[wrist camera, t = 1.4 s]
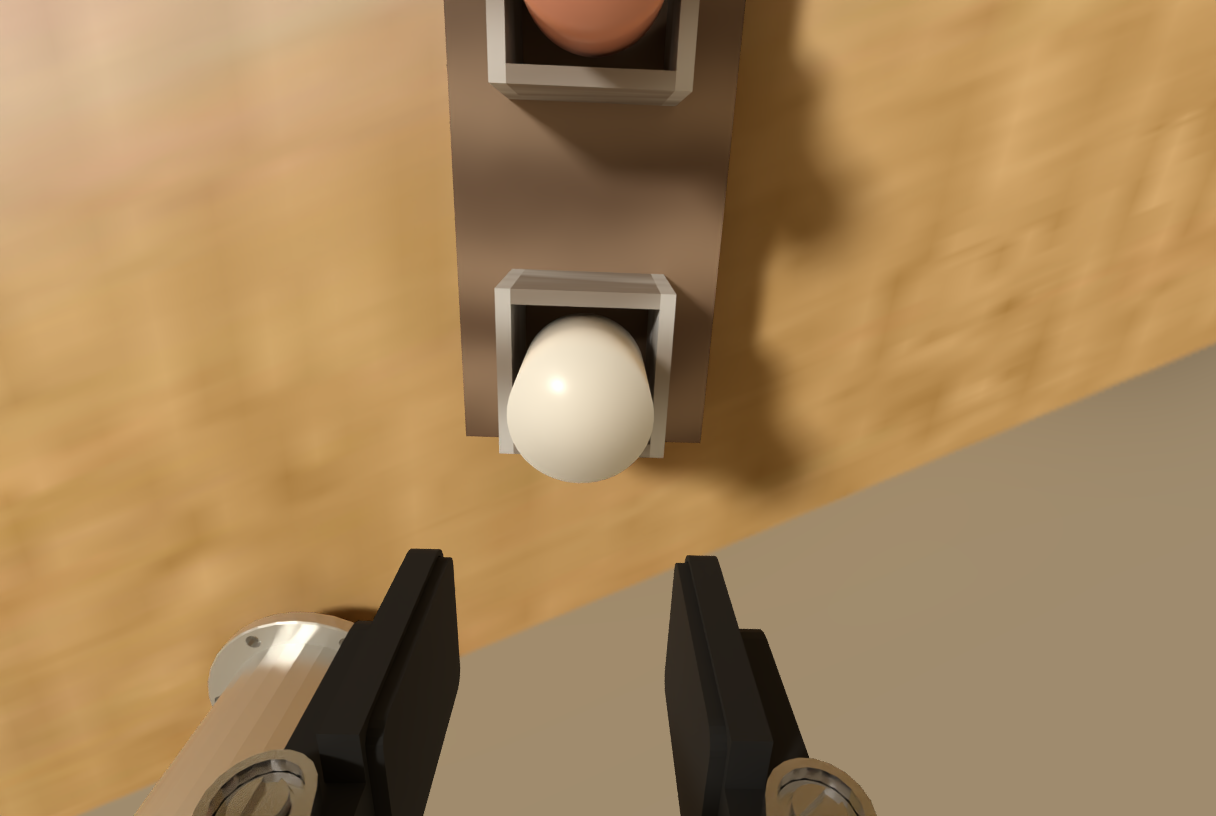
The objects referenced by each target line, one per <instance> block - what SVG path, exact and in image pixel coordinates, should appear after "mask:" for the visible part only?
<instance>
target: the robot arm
mask: <svg viewBox="0 0 1216 816" xmlns="http://www.w3.org/2000/svg"><path fill="white" fill-rule="evenodd" d="M459 679H460V660H459V645H458V629H457V614H456V599H455V584H454V568H453V560H452V558H451V557H443V553H442V550H440V549H410V550H409V551H408V553H407V554H406V556H405V558H404V560H403V562H402V564H401V566H400V568H399V570H398V572H397V574H396V576H395V578H394V580H393V582H392V584H391V586H390V588H389V590H388V592H387V594H386V596H385V598H384V600H383V602H382V604H381V606H380V608H379V610H378V612H377V614H376V616H375V618H374V620H373V621H357V622H355V623H353V622H351V621H348V620H344V619H341V618H338V617H335V616H331V615H325V614H319V613H313V612H289V613H282V614H275V615H271V616H268V617H265V618H262V619H258V620H256V621H254V622H252V623H250V624H248V625H247V626H245V627H243V628H241V629H240V630H239V631H238V632H237V633H236V634H234V635H233V636H232V637H231V638H230V639H229V640H228V642H227V643H226V644H225V645H224V647H223V648H222V649H221V650H220V652H219V653H218V654H217V656H216V658H215V660H214V662H213V664H212V666H211V668H210V673H209V678H208V691H209V698H210V701H211V704H212V708H211V709H210V711H209V712H208V714H207V715H206V716H205V718H204V719H203V721H202V722H201V723H200V725H199V726H198V727H197V729H196V730H195V732H194V733H193V734H192V736H191V737H190V738H189V740H188V741H187V743H186V744H185V745H184V747H183V748H182V749H181V751H180V752H179V754H178V755H177V756H176V758H175V759H174V761H173V762H172V763H171V765H170V766H169V767H168V769H167V770H166V772H165V773H164V774H163V776H162V777H161V778H160V780H159V781H158V783H157V784H156V785H155V787H154V788H153V789H152V791H151V792H150V794H149V795H148V796H147V798H146V799H145V800H144V802H143V803H142V805H141V806H140V807H139V809H138V810H137V812H136V813H135V814H134V816H423V814H424V811H425V807H426V803H427V800H428V796H429V792H430V789H431V785H432V781H433V778H434V774H435V771H436V767H437V763H438V760H439V756H440V752H441V749H442V745H443V741H444V738H445V734H446V731H447V727H448V723H449V720H450V716H451V712H452V709H453V705H454V701H455V698H456V694H457V690H458V686H459ZM665 695H666V703H667V711H668V719H669V727H670V735H671V742H672V750H673V758H674V767H675V775H676V783H677V791H678V798H679V806H680V814H681V816H877V815H876V812H875V810H874V807H873V805H872V802H871V800H870V799H869V797H868V796H867V794H866V793H865V792H864V790H863V789H862V788H861V786H860V785H859V784H858V783H857V782H856V781H855V780H853V779H852V778H851V777H850V776H849V775H848V774H847V773H845V772H844V771H842V770H840V769H839V768H837V767H835V766H833V765H832V764H829V763H826V762H823V761H820V760H817V759H814V758H809V756H808V753H807V750H806V748H805V744H804V742H803V739H802V736H801V734H800V731H799V728H798V725H797V722H796V720H795V717H794V714H793V711H792V708H791V705H790V703H789V700H788V697H787V694H786V692H785V689H784V686H783V683H782V680H781V677H780V675H779V672H778V669H777V666H776V664H775V661H774V658H773V655H772V652H771V650H770V647H769V644H768V641H767V639H766V636H765V634H764V632H763V631H762V630H761V629H739V627H738V624H737V621H736V617H735V614H734V611H733V608H732V604H731V601H730V598H729V595H728V591H727V588H726V585H725V581H724V578H723V575H722V571H721V568H720V565H719V562H718V559H717V557H716V556H692V555H687V556H686V559H685V563H676V564H675V569H674V580H673V591H672V601H671V613H670V623H669V633H668V644H667V656H666V666H665Z"/></svg>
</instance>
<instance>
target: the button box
mask: <svg viewBox="0 0 1216 816" xmlns="http://www.w3.org/2000/svg"><path fill="white" fill-rule="evenodd" d="M745 1H746V0H664V2H663V5H662V8H661V10H660V12H659V14H658V16H657V18H656V20H655V21H654V23H653V24H652V26H651V27H650V29H649V30H648V31H647V32H646V33H645V35H644V36H643V37H642V38H640V39H639V40H638V41H637V42H636V43H635V44H633V45H632V46H630V47H629V48H627V49H625V50H623V51H621V52H619V53H616V54H613V55H610V56H605V57H584V56H580V55H576V54H573V53H570V52H568V51H566V50H564V49H562V48H560V47H559V46H557V45H556V44H554V43H553V42H552V41H551V40H550V39H548V38H547V37H546V36H545V35H544V33H543V32H542V31H541V30H540V29H539V28H538V26H537V25H536V23H535V22H534V20H533V19H532V17H531V15H530V13H529V11H528V9H527V7H526V4H525V2H524V0H444V14H445V34H446V53H447V73H448V92H449V111H450V131H451V150H452V169H453V189H454V208H455V228H456V247H457V266H458V286H459V305H460V324H461V344H462V363H463V383H464V402H465V421H466V436H482V437H499V453H508V454H520V452H519V451H518V450H517V448H516V446H515V444H514V443H513V441H512V438H511V436H510V433H509V429H508V424H507V404H508V399H509V396H510V393H511V390H512V387H513V385H514V382H515V380H516V377H517V375H518V372H519V370H520V368H521V365H522V363H523V360H524V358H525V355H526V353H527V350H528V348H529V346H530V344H531V342H532V341H533V339H534V338H535V336H536V335H537V334H538V333H539V332H540V331H541V329H543V328H544V327H545V326H546V325H548V324H549V323H551V322H552V321H554V320H556V319H558V318H560V317H563V316H567V315H570V314H577V313H590V314H596V315H601V316H604V317H606V318H609V319H611V320H613V321H615V322H616V323H618V324H619V325H621V326H622V327H623V328H624V329H625V330H627V331H628V332H629V333H630V335H631V336H632V337H633V338H634V340H635V342H636V343H637V345H638V347H639V349H640V351H641V355H642V358H643V362H644V366H645V371H646V375H647V380H648V384H649V388H650V393H651V397H652V401H653V408H654V423H653V430H652V433H651V437H650V439H649V441H648V444H647V446H646V447H645V449H644V451H643V452H642V454H641V455H640V456H639V457H647V458H664V446H665V442H687V443H700V441H701V431H702V421H703V412H704V402H705V392H706V382H707V372H708V363H709V353H710V343H711V333H712V324H713V314H714V304H715V294H716V285H717V275H718V265H719V255H720V245H721V236H722V226H723V216H724V206H725V197H726V187H727V177H728V167H729V157H730V148H731V138H732V128H733V118H734V109H735V99H736V89H737V79H738V69H739V60H740V50H741V40H742V30H743V21H744V11H745Z"/></svg>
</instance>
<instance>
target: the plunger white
mask: <svg viewBox="0 0 1216 816" xmlns="http://www.w3.org/2000/svg"><path fill="white" fill-rule="evenodd" d="M653 423H654V408H653V401H652V397H651V393H650V388H649V384H648V380H647V375H646V371H645V366H644V362H643V358H642V355H641V351H640V349H639V347H638V345H637V343H636V342H635V340H634V338H633V337H632V336H631V335H630V333H629V332H628V331H627V330H625V329H624V328H623V327H622V326H621V325H619V324H618V323H616V322H615V321H613V320H611V319H609V318H606V317H604V316H601V315H596V314H590V313H577V314H570V315H567V316H563V317H560V318H558V319H556V320H554V321H552V322H551V323H549V324H548V325H546V326H545V327H544V328H543V329H541V331H540V332H539V333H538V334H537V335H536V336H535V338H534V339H533V341H532V342H531V344H530V346H529V348H528V350H527V353H526V355H525V358H524V360H523V363H522V365H521V368H520V370H519V372H518V375H517V377H516V380H515V382H514V385H513V387H512V390H511V393H510V396H509V399H508V404H507V424H508V429H509V433H510V436H511V438H512V441H513V443H514V444H515V446H516V448H517V450H518V451H519V452H520V454H521V455H522V456H523V458H524V459H525V460H526V461H527V462H528V463H529V464H531V465H532V466H533V467H534V468H536V469H537V470H539V471H540V472H542V473H543V474H546V475H548V476H550V477H552V478H555V479H558V480H561V481H566V482H573V483H590V482H597V481H601V480H604V479H608V478H610V477H612V476H615V475H617V474H618V473H620V472H622V471H624V470H625V469H626V468H628V467H629V466H630V465H631V464H632V463H634V462H635V461H636V460H637V458H638V457H639V456H640V455H641V454H642V452H643V451H644V449H645V447H646V446H647V444H648V441H649V439H650V437H651V433H652V430H653Z"/></svg>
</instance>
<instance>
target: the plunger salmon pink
mask: <svg viewBox="0 0 1216 816" xmlns="http://www.w3.org/2000/svg"><path fill="white" fill-rule="evenodd" d="M524 2H525V4H526V7H527V9H528V11H529V13H530V15H531V17H532V19H533V20H534V22H535V23H536V25H537V26H538V28H539V29H540V30H541V31H542V32H543V33H544V35H545V36H546V37H547V38H548V39H550V40H551V41H552V42H553V43H554V44H556V45H557V46H559V47H560V48H562V49H564V50H566V51H568V52H570V53H573V54H576V55H580V56H584V57H605V56H610V55H613V54H616V53H619V52H621V51H623V50H625V49H627V48H629V47H630V46H632V45H633V44H635V43H636V42H637V41H638V40H639V39H640V38H642V37H643V36H644V35H645V33H646V32H647V31H648V30H649V29H650V27H651V26H652V24H653V23H654V21H655V20H656V18H657V16H658V14H659V12H660V10H661V8H662V5H663V2H664V0H524Z"/></svg>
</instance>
